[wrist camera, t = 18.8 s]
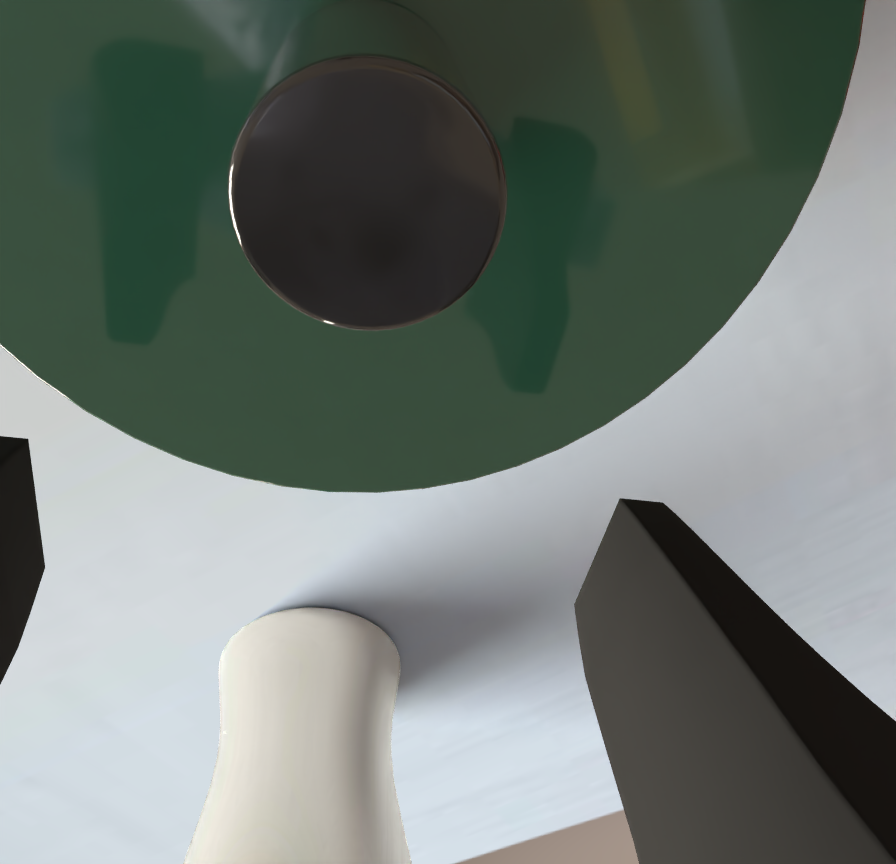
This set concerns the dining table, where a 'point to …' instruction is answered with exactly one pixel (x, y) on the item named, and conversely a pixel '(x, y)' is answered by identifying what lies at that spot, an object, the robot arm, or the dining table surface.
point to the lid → (395, 215)
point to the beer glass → (304, 745)
